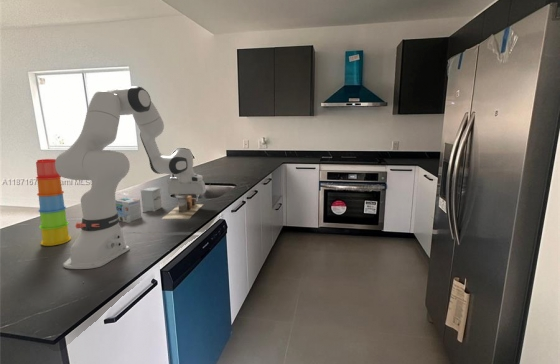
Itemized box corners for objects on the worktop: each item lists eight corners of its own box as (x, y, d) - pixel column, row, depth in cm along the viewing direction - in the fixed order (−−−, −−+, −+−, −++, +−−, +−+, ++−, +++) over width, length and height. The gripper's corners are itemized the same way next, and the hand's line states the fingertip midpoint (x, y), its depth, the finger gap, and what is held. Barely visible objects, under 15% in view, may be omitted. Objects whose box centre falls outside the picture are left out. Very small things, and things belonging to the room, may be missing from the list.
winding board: (188, 221, 149) (187, 202, 147) (161, 221, 149) (159, 202, 147) (203, 206, 174) (202, 189, 172) (180, 206, 175) (178, 189, 173)
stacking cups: (53, 237, 131) (39, 158, 124) (76, 236, 131) (63, 158, 124) (34, 246, 121) (17, 162, 114) (59, 246, 121) (44, 161, 114)
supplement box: (154, 213, 162) (152, 190, 159) (142, 212, 164) (140, 190, 161) (162, 209, 169) (160, 187, 167) (150, 208, 171) (148, 187, 168)
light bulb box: (116, 220, 152) (114, 200, 149) (128, 216, 157) (126, 196, 155) (130, 223, 147) (128, 202, 144) (142, 219, 152) (140, 199, 150)
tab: (189, 208, 166) (188, 197, 165) (184, 208, 166) (183, 198, 165) (192, 205, 171) (191, 195, 170) (187, 205, 171) (186, 195, 170)
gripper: (164, 178, 162) (167, 203, 165) (202, 178, 161) (204, 203, 164) (169, 176, 168) (171, 200, 171) (205, 176, 167) (207, 199, 170)
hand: (187, 201), depth 168 cm, fingers open, 8 cm apart
